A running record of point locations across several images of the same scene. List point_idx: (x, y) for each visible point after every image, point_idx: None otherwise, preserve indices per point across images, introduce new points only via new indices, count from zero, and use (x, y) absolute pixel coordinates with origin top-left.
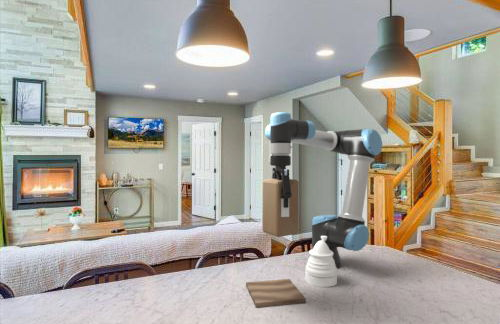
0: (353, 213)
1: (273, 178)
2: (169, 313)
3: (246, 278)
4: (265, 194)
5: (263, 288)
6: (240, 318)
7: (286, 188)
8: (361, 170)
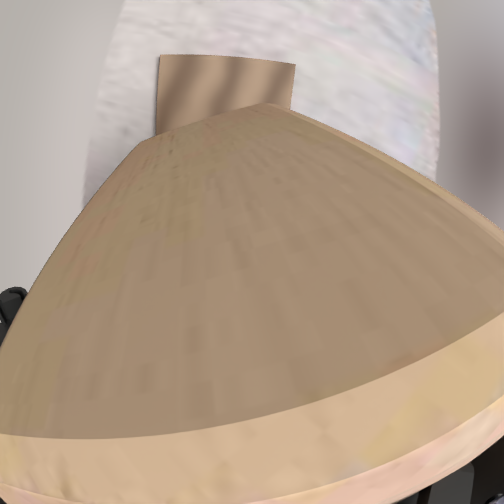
0: None
1: (467, 467)
2: None
3: (340, 85)
4: (308, 174)
5: (240, 95)
6: (123, 17)
7: None
8: None
